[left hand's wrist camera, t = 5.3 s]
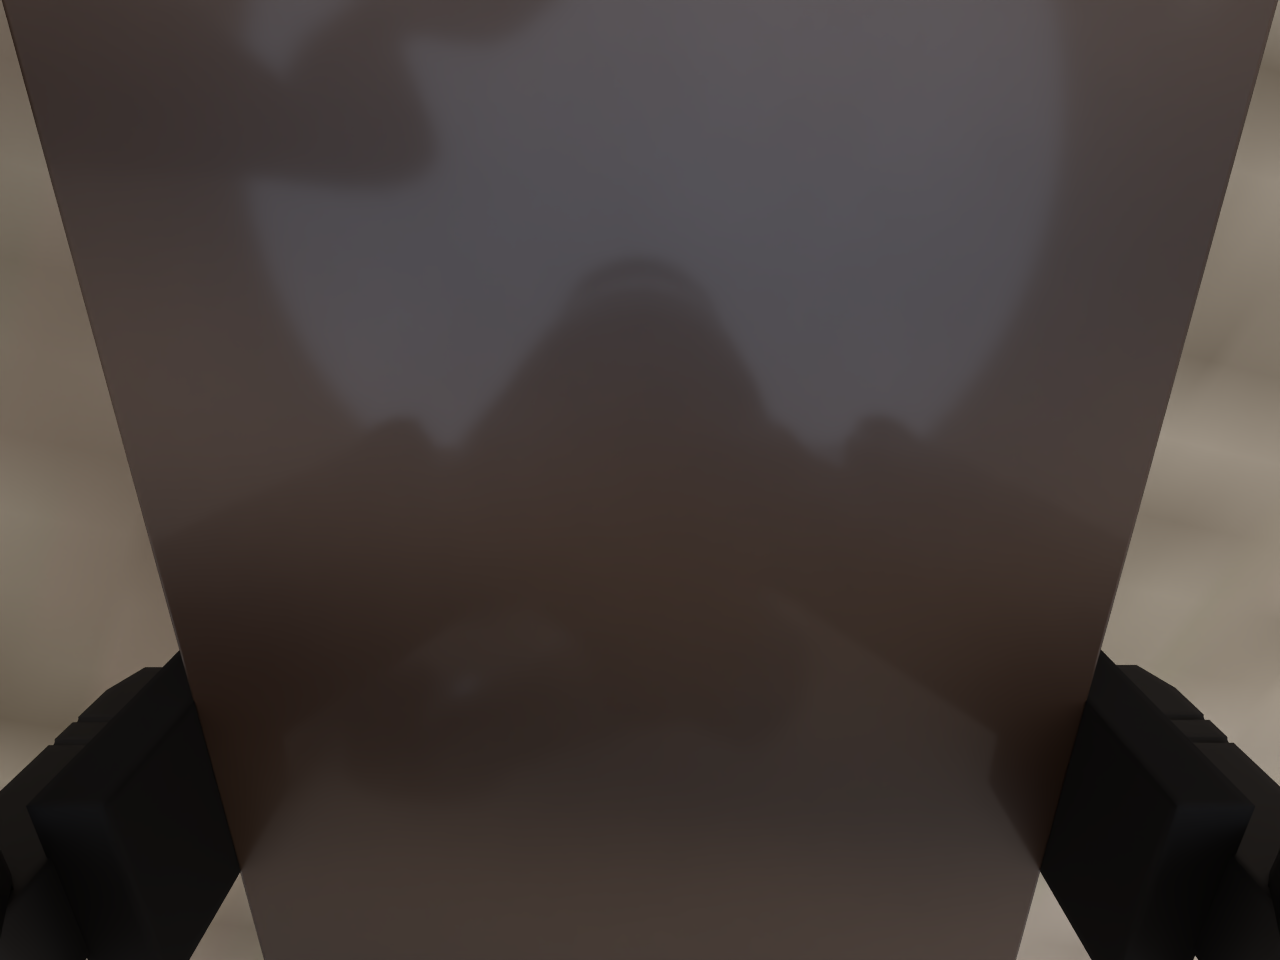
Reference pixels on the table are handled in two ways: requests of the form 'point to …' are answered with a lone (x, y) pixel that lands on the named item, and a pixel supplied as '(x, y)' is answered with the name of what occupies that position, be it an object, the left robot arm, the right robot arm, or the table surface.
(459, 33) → the small wooden cabinet
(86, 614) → the table surface
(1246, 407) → the table surface
